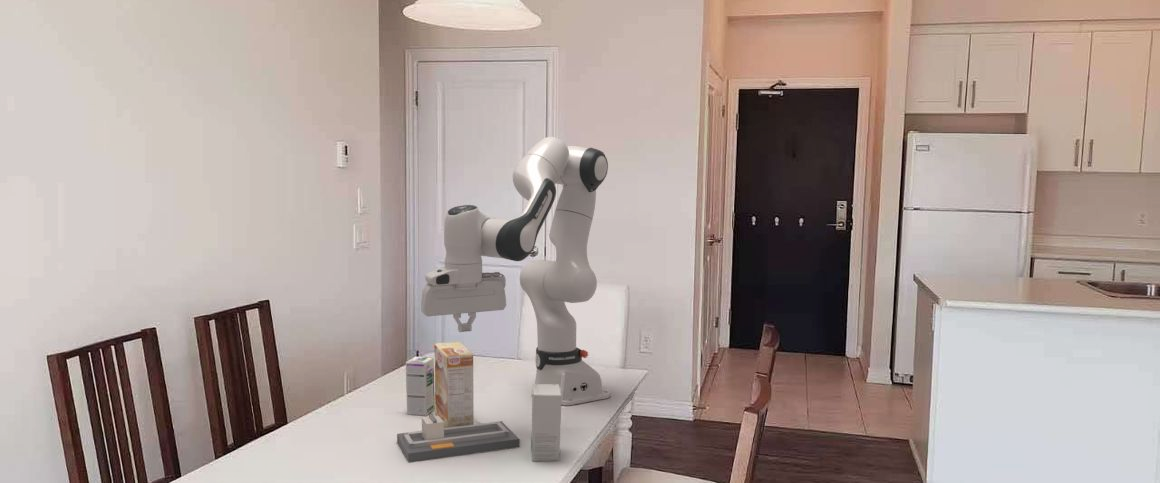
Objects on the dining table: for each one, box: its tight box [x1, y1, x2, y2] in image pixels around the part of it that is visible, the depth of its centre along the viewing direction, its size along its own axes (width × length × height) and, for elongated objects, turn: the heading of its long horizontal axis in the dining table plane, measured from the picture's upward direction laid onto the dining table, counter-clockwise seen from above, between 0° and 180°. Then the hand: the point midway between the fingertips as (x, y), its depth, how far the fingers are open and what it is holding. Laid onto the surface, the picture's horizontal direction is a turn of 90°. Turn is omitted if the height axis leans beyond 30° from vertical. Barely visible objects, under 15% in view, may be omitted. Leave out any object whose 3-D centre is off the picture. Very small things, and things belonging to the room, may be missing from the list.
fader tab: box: [421, 413, 444, 440], centre depth 185 cm, size 4×5×5 cm
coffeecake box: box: [433, 341, 475, 428], centre depth 202 cm, size 15×7×20 cm, turn 22°
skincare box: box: [530, 383, 562, 462], centre depth 181 cm, size 8×7×16 cm
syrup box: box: [405, 356, 435, 417], centre depth 211 cm, size 6×6×14 cm
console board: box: [396, 420, 521, 463], centre depth 187 cm, size 26×14×3 cm, turn 113°
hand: (464, 331), depth 190 cm, fingers closed
